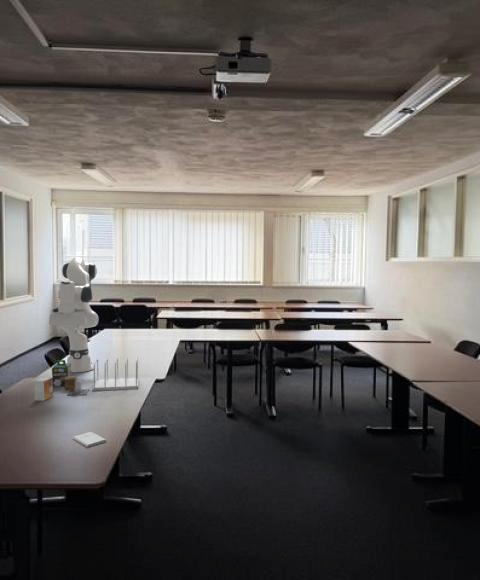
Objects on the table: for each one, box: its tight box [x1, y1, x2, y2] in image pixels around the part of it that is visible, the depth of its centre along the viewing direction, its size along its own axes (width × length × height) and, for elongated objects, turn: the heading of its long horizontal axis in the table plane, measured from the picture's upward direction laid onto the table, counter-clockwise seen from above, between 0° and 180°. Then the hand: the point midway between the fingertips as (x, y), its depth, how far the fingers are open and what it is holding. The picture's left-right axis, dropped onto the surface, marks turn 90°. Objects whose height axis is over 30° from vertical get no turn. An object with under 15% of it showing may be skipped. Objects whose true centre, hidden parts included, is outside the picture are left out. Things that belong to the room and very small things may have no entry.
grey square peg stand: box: [66, 380, 91, 397], centre depth 259 cm, size 10×10×7 cm
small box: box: [34, 376, 54, 402], centre depth 249 cm, size 8×6×10 cm
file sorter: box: [92, 356, 140, 392], centre depth 274 cm, size 25×17×16 cm
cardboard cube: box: [64, 375, 77, 391], centre depth 267 cm, size 5×5×7 cm
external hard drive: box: [72, 431, 107, 448], centre depth 193 cm, size 2×8×12 cm
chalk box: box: [51, 359, 73, 388], centre depth 276 cm, size 9×9×15 cm
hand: (68, 332), depth 270 cm, fingers open, 8 cm apart
